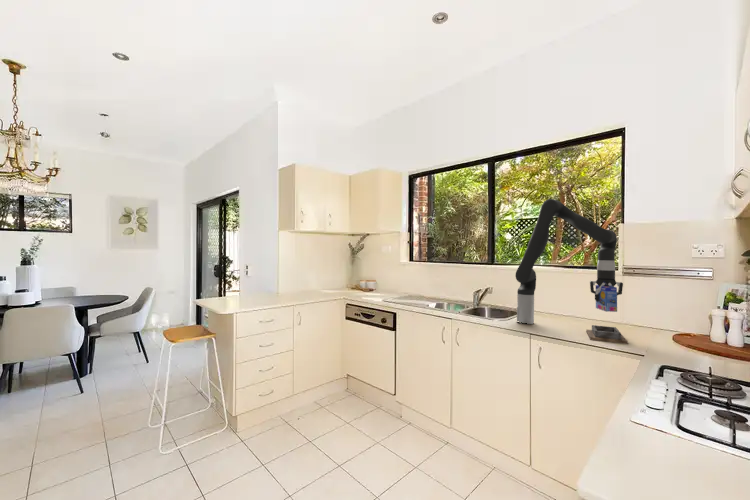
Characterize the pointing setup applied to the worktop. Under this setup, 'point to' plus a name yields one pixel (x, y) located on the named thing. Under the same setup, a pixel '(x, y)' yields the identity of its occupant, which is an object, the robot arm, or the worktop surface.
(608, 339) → the docking frame
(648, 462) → the worktop surface
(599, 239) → the robot arm
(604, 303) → the ink cartridge box
